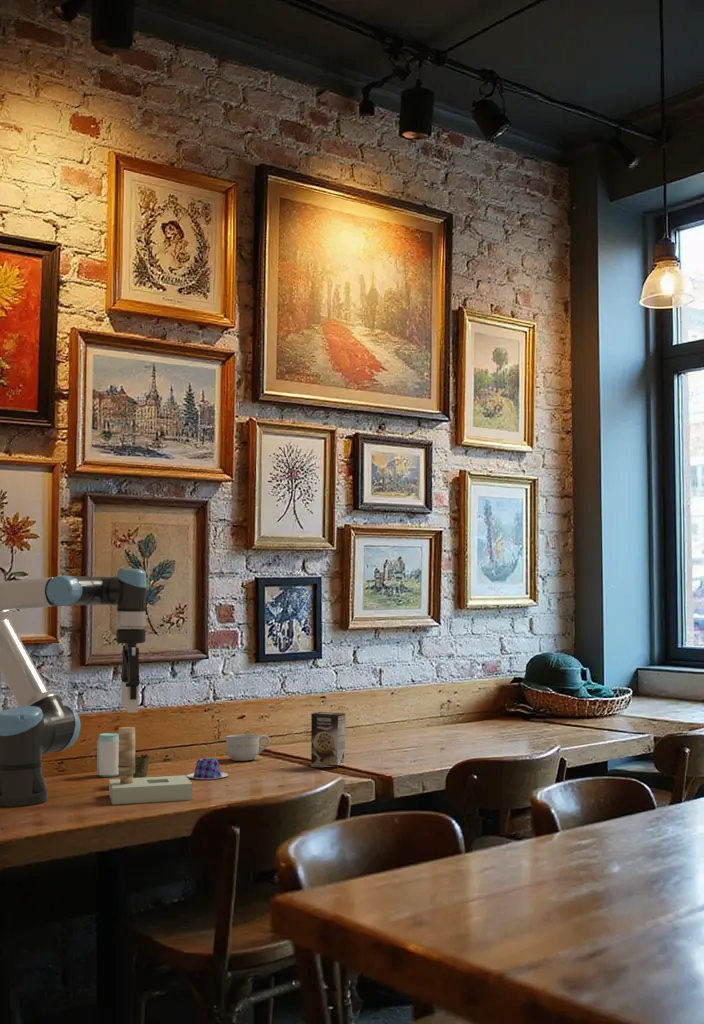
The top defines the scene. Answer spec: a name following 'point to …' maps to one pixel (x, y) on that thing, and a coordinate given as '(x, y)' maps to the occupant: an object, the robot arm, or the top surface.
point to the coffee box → (327, 739)
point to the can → (108, 754)
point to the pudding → (207, 769)
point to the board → (150, 790)
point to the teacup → (245, 746)
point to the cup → (141, 766)
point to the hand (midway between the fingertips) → (129, 709)
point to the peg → (126, 754)
